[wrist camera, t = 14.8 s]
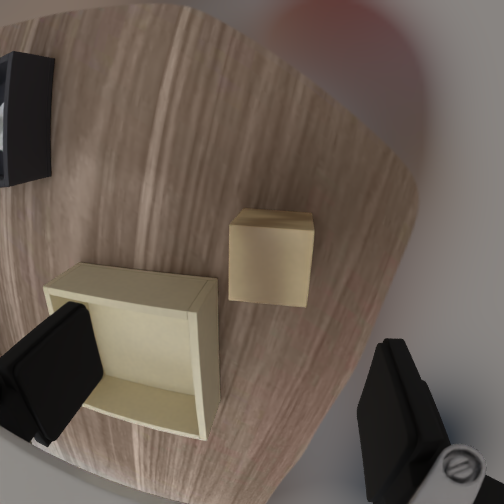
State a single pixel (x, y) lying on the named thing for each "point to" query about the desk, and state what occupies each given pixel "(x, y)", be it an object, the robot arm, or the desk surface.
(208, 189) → the desk surface
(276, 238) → the maple block
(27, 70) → the charcoal bin
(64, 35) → the desk surface
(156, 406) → the cream bin
